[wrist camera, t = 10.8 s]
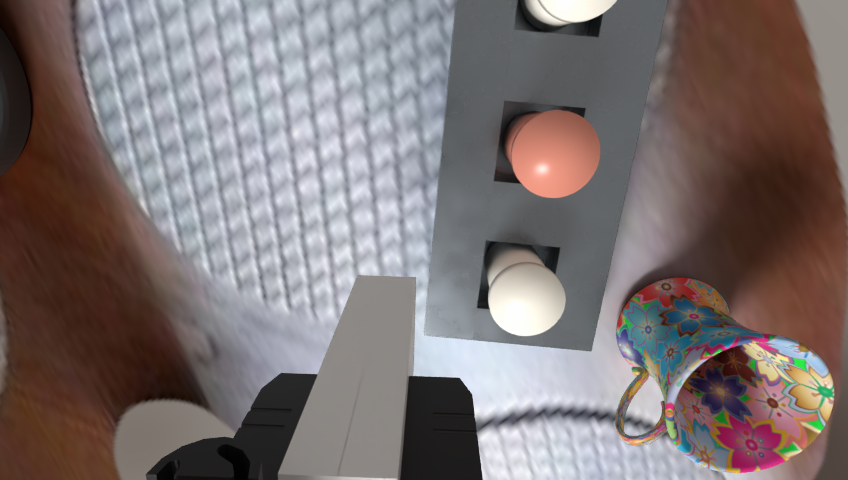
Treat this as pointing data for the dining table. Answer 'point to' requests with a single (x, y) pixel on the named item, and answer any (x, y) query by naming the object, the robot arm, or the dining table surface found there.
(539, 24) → the cream plug
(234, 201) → the dining table surface
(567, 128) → the plug red
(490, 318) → the plug board
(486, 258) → the cream plug
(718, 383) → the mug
